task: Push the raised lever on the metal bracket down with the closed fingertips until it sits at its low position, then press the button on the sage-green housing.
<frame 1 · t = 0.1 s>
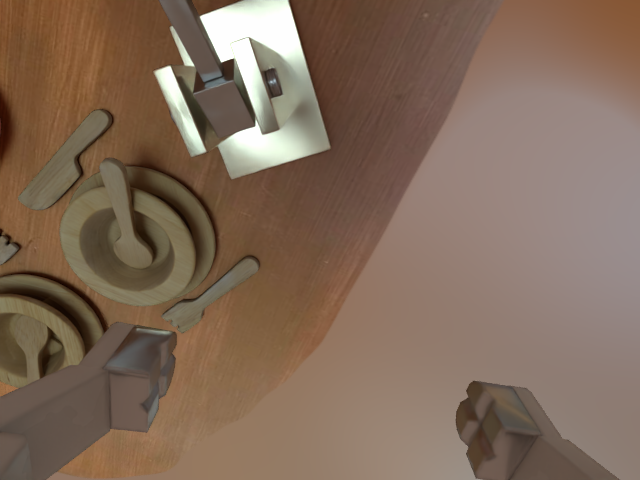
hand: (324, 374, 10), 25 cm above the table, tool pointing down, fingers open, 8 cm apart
lever: (179, 7, 16), point 13 cm above the table, hinge at 28.0°
tableware set: (95, 281, 37), on the table
bracket: (257, 91, 30), on the table
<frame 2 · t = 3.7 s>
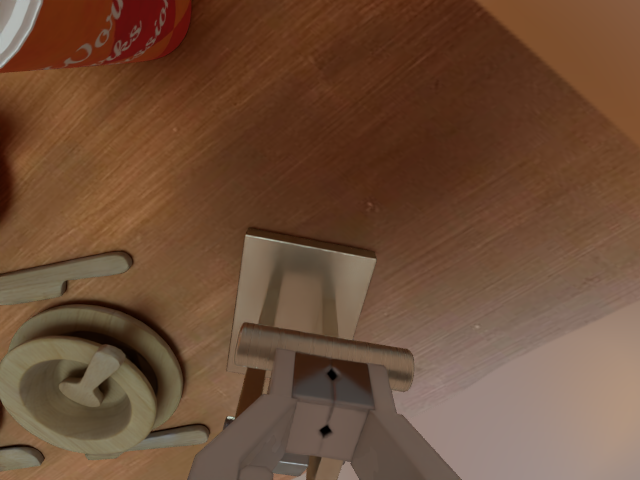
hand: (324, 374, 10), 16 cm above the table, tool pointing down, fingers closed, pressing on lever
lever: (298, 412, 15), point 13 cm above the table, hinge at 24.7°, touching gripper
tableware set: (14, 381, 31), on the table
bracket: (297, 310, 28), on the table
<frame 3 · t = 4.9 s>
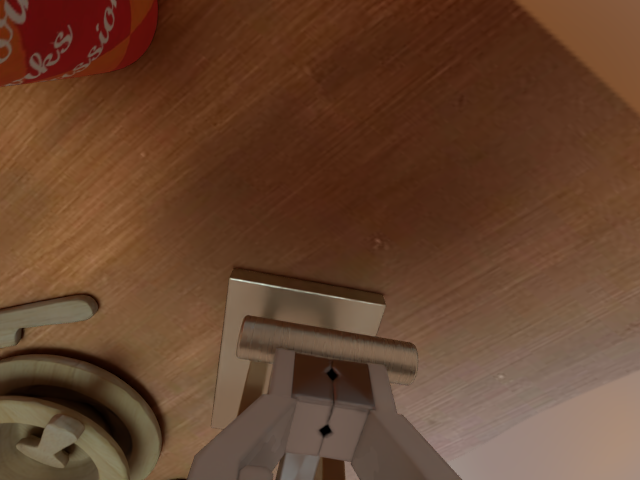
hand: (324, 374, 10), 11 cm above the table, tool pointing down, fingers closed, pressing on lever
lever: (293, 478, 13), point 11 cm above the table, hinge at -2.5°, touching gripper
bracket: (292, 358, 24), on the table
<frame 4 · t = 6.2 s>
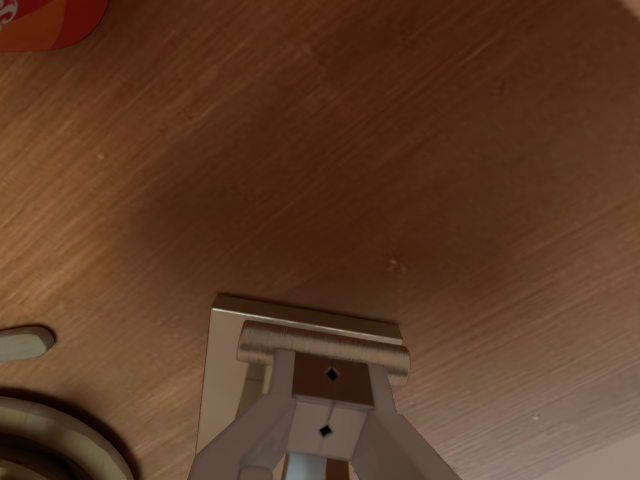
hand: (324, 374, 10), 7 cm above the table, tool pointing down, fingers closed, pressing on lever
bracket: (288, 398, 20), on the table
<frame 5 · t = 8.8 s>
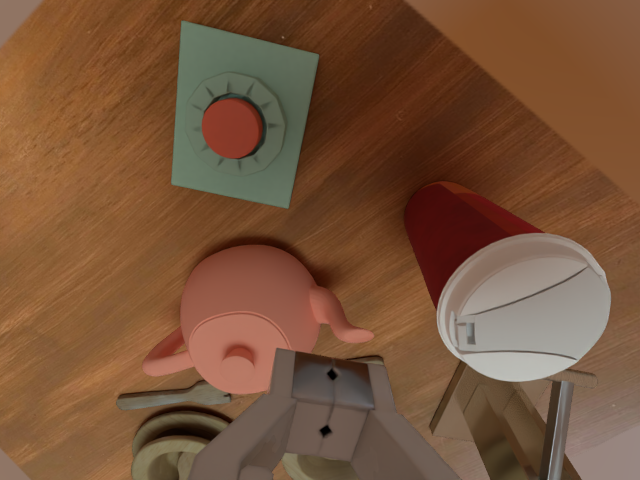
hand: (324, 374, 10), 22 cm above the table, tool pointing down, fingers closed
lever: (554, 443, 30), point 9 cm above the table, hinge at -27.6°
tableware set: (265, 437, 42), on the table
teapot: (266, 294, 35), on the table
bracket: (488, 393, 39), on the table
button: (233, 128, 24), point 4 cm above the table, slide at 0.1 cm
coffee cup: (439, 214, 31), on the table
button box: (245, 120, 28), on the table
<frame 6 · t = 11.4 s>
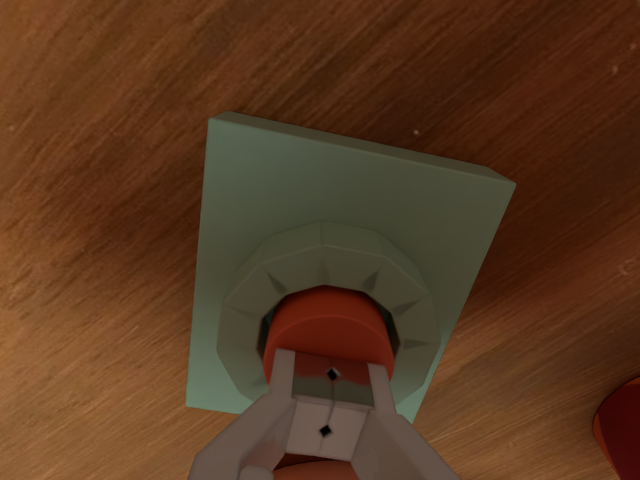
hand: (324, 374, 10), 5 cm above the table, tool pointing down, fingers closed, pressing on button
button: (328, 348, 11), point 4 cm above the table, slide at -0.3 cm, touching gripper
button box: (326, 279, 15), on the table
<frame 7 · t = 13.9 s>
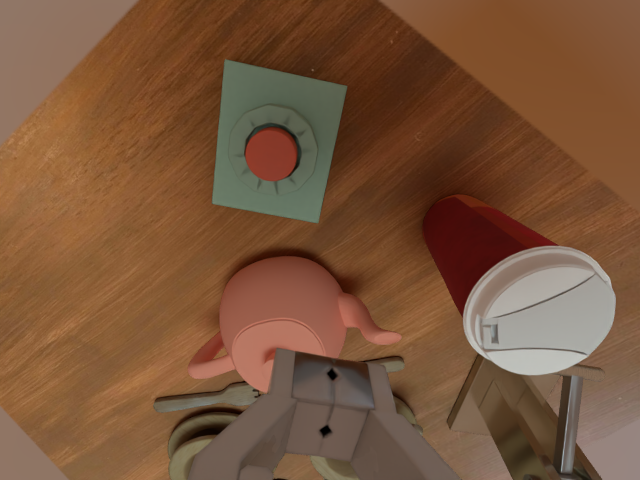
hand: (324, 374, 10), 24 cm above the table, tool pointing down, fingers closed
lever: (566, 433, 32), point 9 cm above the table, hinge at -27.6°
tableware set: (292, 436, 45), on the table
teapot: (294, 301, 37), on the table
bracket: (501, 389, 42), on the table
button: (272, 154, 27), point 4 cm above the table, slide at 0.1 cm
coffee cup: (454, 224, 34), on the table
button box: (278, 144, 31), on the table
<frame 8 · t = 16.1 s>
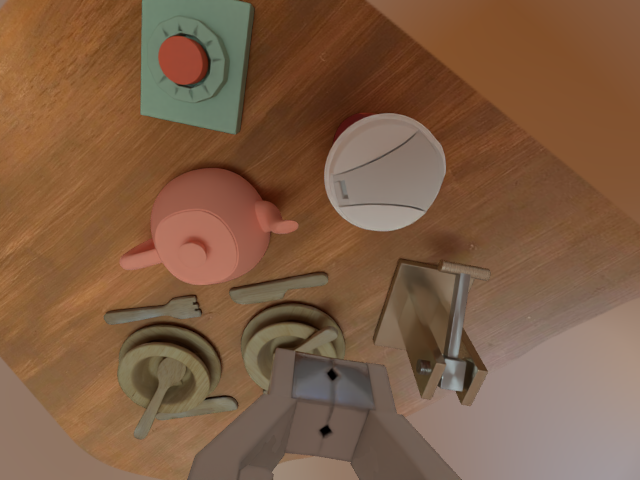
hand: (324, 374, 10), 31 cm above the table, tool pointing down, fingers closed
lever: (455, 324, 37), point 9 cm above the table, hinge at -27.6°
tableware set: (233, 352, 49), on the table
teapot: (225, 216, 42), on the table
bracket: (420, 307, 46), on the table
button: (183, 61, 31), point 4 cm above the table, slide at 0.1 cm
coffee cup: (363, 142, 38), on the table
button box: (199, 62, 35), on the table
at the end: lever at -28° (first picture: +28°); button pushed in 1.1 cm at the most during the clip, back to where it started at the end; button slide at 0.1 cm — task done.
